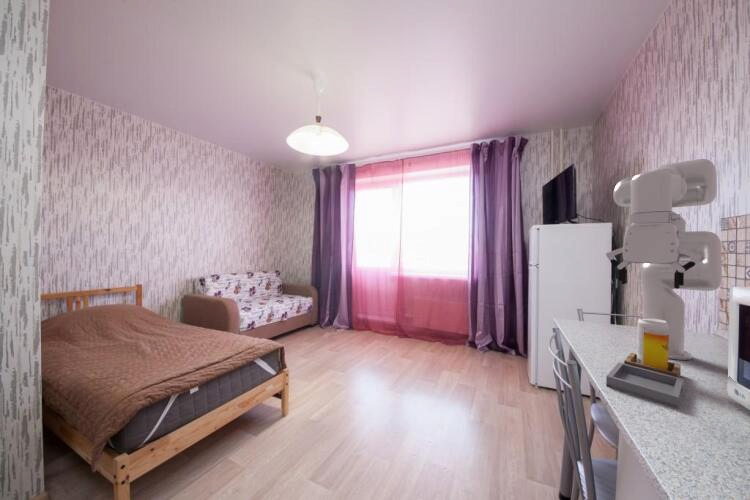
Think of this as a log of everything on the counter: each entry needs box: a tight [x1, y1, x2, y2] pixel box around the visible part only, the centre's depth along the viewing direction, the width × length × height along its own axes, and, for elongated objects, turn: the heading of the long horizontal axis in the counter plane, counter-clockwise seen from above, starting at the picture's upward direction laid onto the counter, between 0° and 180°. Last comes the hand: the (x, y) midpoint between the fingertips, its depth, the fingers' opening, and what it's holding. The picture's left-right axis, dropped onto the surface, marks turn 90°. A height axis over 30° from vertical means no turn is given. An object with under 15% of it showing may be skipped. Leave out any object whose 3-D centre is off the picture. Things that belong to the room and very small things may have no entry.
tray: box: [605, 361, 684, 410], centre depth 66 cm, size 14×12×2 cm
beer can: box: [636, 317, 669, 371], centre depth 74 cm, size 6×6×15 cm
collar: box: [623, 352, 682, 378], centre depth 74 cm, size 10×10×3 cm
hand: (649, 285), depth 69 cm, fingers open, 9 cm apart
